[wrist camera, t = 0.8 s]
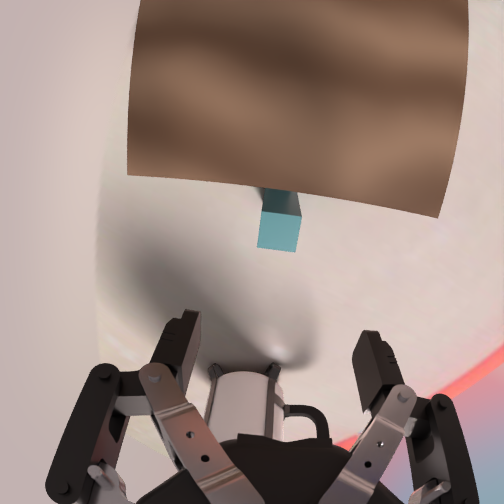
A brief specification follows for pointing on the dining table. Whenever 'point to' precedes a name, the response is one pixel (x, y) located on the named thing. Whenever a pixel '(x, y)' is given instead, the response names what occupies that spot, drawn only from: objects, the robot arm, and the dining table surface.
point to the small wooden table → (301, 96)
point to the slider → (279, 220)
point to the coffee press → (252, 405)
